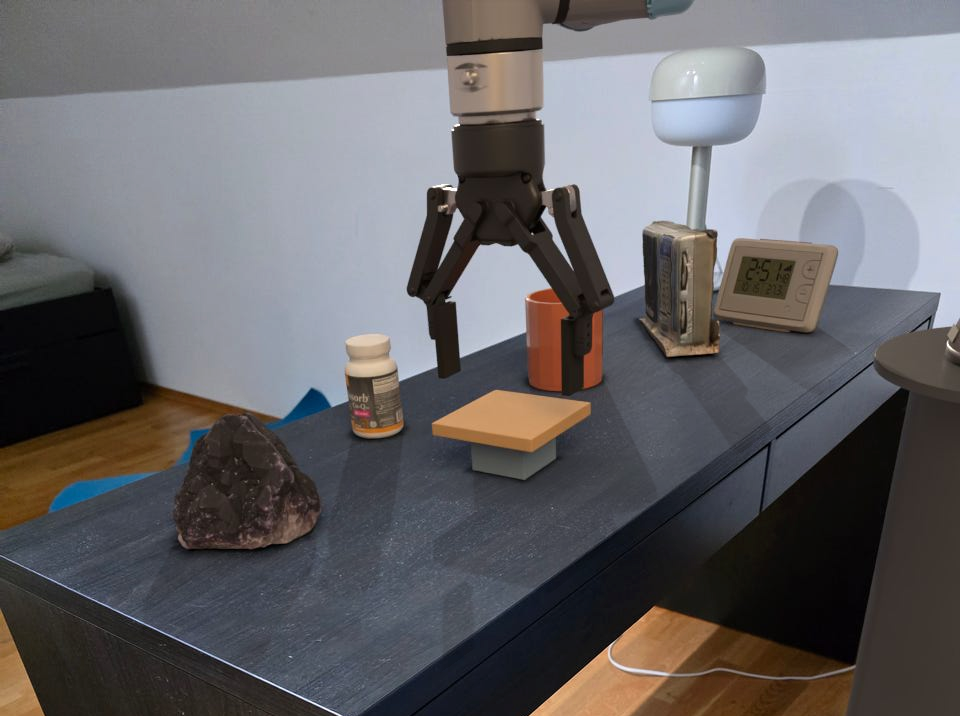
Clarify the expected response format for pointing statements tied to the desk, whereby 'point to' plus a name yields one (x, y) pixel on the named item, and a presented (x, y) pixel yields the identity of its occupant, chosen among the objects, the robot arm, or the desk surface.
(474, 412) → the mat
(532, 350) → the cup
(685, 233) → the radio
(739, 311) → the digital clock
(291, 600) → the desk surface
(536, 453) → the stand
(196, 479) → the crystal cluster
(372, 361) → the pill bottle
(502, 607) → the desk surface
